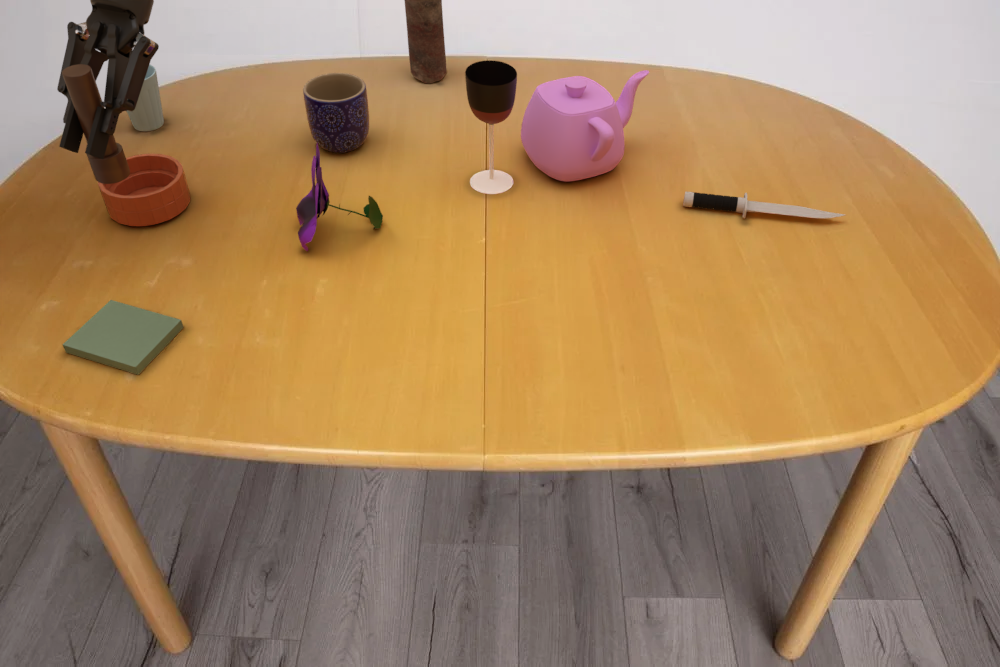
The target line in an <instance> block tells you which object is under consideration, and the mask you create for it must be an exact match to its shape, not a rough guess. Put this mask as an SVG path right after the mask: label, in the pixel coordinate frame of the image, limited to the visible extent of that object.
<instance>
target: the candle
mask: <svg viewBox="0 0 1000 667" xmlns="http://www.w3.org/2000/svg"><path fill="white" fill-rule="evenodd" d="M403 1H404V10H405V21H406V31H407V32H406V33H407V47H408V48H407V49H408V59H409V67H410V73H411V75H412V76H413V78H414V79H417V80H418V81H421V82H422V83H424V84H433V83H436V82H439V81H442V80H443V78H444V77H445V76H446V74H447V73H448V72H447V69H448V68H447V58H446V57H447V56H446V44H445V30H444V29H445V28H444V18H443V17H444V15H443V0H403Z"/></svg>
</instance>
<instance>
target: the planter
mask: <svg viewBox="0 0 1000 667" xmlns="http://www.w3.org/2000/svg"><path fill="white" fill-rule="evenodd" d="M302 91H303V92H302V94H303V101H304V107H305V113H306V118H307V122H308V123H307V124H308V128H309V131H310V134H311V136H312V139H313V140H314V141H315V143H316V144H317V143H318V147H319V148H322V149H323V150H325V151H328V152H331V153H338V154H341V153H348V152H352V151H354V150H356V149H358V148H360V147H361V146H362V145H363V144H364V143H365V141H366V139H367V138H368V135H369V133H370V109H369V98H368V91H367V84H366V82H365V80H364V79H363V78H361V77H360V76H358V75H356V74H352V73H348V72H328V73H323V74H319V75H317V76H314V77H312V78H310V79H309V80H307V82H306V83H305V84H304V85H303V87H302Z"/></svg>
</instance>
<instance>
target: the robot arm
mask: <svg viewBox="0 0 1000 667" xmlns="http://www.w3.org/2000/svg"><path fill="white" fill-rule="evenodd" d="M89 1H90V4H91V12H90V13H89V15H88V16H87V18H86V21H85V22H80V23H76V22H74V21H69V22H68V23H67V27H66V28H67V29H66V30H67V43H66V46H65V51H64V57H63V61H62V65H61V70H60V73H59V80H58V84H57V92H58V93H60V94H62V95H64V97H66V98H67V103H66V107H65V110H64V115H63V118H62V122H63V124H64V127H63V131H62V134H61V139H60V142H59V145H58V147H59V148H61V149H65V150H67V151H69V152H72V153H76V154H78V153H79V152H80V151H79V150H80V147H81V143H82V140H83V136H84V133H83V130H82V127H81V124H80V122H79V119H78V116H77V113H76V111H75V108H74V105H73V102H72V100H71V97H70V94H69V91H68V89H67V86H66V83H65V80H64V77H63V75H62V71H63V70H64V69H65V68H67V67H69V66H72V65H78V64H84V65H88V66H90V67H91V69H92V72H93V75H94V78H95V81H96V82H97V79H98V77H99V75H100V73H101V70H102V68H103V65H104V64H105V62H107V70H106V78H105V90H104V98H103V101H102V102H100V104H101V105H102V106H103V107H104V108H103V107H99V106H97V110H96V114H95V117H94V121H93V125H92V128H91V132H90V136H89V140H88V143H87V142H86V148H85V151H84V154H86V155H87V154H89V155H92V156H94V157H97V158H100V159H104V155H105V152H106V148H107V144H108V140H109V137H110V135H114V134H115V132H116V129H117V124H118V121H119V117H120V115H121V114H122V113H123V112H127V110H129V111H133V110H135V107H136V104H137V101H138V98H139V95H140V92H141V89H142V86H143V83H144V79H145V76H146V73H147V70H148V67H149V64H150V65H151V60H152V59H153V57H154V56H155V54H156V53H157V51H158V50H159V46H160V45H159V44H158V43H157V42H155V41H154V40H152V39H151V38H149V37H147V36H146V35H145V25H147V24H148V23H149V22H150V17H151V14H152V11H153V6H154V4H155V1H154V0H89ZM127 99H128V100H127Z"/></svg>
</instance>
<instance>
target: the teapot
mask: <svg viewBox="0 0 1000 667" xmlns="http://www.w3.org/2000/svg"><path fill="white" fill-rule="evenodd" d="M649 74H650V71H649V70H648V69H647V70H644V69H643V70H640V71H637V72H635V73H634V74H632V75H631V76H630V77H629V78H628V79H627V81H626V83H625V84H624V86H623V87H622V91H621V93H620V94H619V96H618V99H616V101H615V98H614V97H613V96H612V94H611V93H610V92H609V90H608V89H606V87H604V86H603V85H601V84H600V83H599V82H598V81H595V80H593V79H592V78H589V77H587V76H582V75H574V76H569V77H568V76H567V77H561V78H557V79H554V80H549V81H546V82H543V83H540V84H538V85H537V86H536V88H535V89H534V91H533V93H532V95H531V97H530V99H529V101H528V103H527V105H526V108H525V110H524V113H523V117H522V122H521V127H520V140H521V144H522V148H523V149H524V151H525V153H526V155H527V156H528V158H529V160H530V161H531V162H532V163H533V165H534V166H535V167H536V168H537V169H538V170H540V171H541V172H542V173H544V174H545V175H547V176H548V177H550V178H552V179H554V180H557V181H560V182H575V181H580V180H586V179H589V178H593V177H596V176H597V177H598V176H600V175H603V174H606V173H609V172H611V171H613V170H614V169H615V168H616V167H617V166H618V165H619V163H620V162H621V161H622V159H623V157H624V154H625V132H624V128H626V126H627V124H628V123H629V122H630V119H631V118H632V114H633V109H634V102H635V97H636V93H637V90H638V87H639V85H640V84H641V82H642V81H643V80H645V78H646V77H648V75H649Z"/></svg>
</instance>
